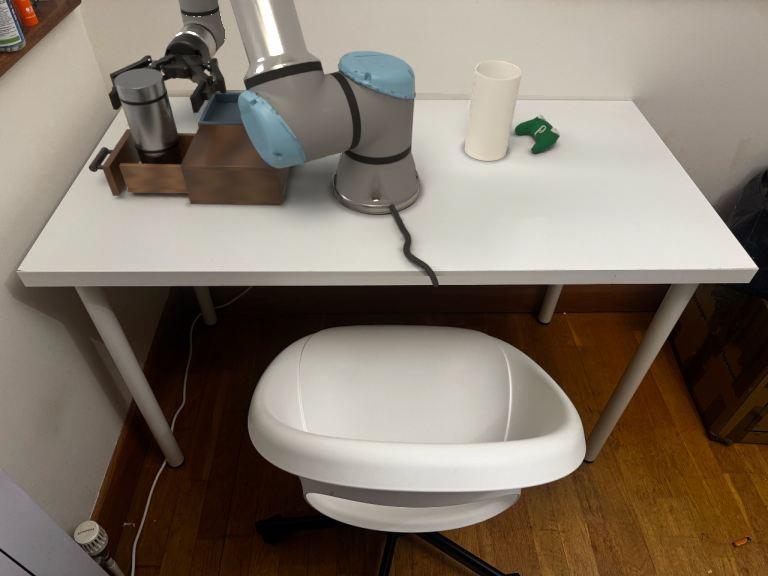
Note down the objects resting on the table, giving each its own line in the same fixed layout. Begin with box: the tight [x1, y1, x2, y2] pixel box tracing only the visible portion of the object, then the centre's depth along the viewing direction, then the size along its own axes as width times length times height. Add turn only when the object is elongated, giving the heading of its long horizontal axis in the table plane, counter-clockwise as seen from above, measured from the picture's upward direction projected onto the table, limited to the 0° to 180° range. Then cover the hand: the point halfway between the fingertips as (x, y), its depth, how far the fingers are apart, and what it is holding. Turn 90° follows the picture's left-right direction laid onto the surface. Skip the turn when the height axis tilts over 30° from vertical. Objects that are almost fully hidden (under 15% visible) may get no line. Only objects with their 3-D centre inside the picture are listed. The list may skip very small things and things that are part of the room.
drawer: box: [88, 128, 196, 197], centre depth 99 cm, size 19×12×6 cm, turn 90°
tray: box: [197, 91, 244, 128], centre depth 117 cm, size 14×14×2 cm
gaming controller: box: [514, 113, 560, 154], centre depth 113 cm, size 9×4×6 cm
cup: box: [464, 60, 522, 162], centre depth 105 cm, size 8×8×16 cm
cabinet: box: [180, 124, 291, 206], centre depth 99 cm, size 16×14×8 cm
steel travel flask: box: [114, 69, 184, 165], centre depth 94 cm, size 7×7×17 cm
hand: (153, 104), depth 94 cm, fingers open, 13 cm apart
